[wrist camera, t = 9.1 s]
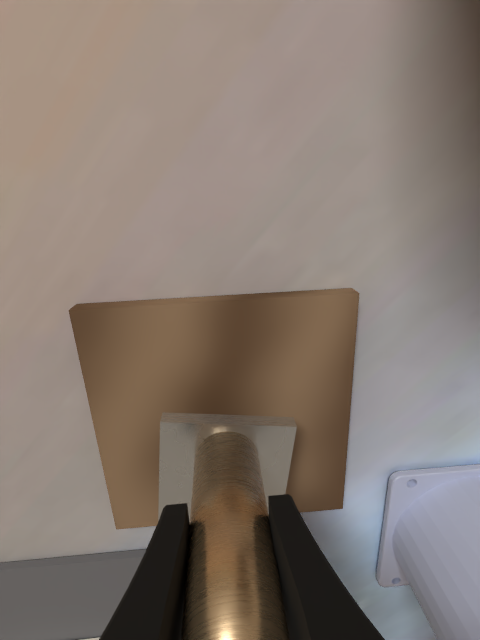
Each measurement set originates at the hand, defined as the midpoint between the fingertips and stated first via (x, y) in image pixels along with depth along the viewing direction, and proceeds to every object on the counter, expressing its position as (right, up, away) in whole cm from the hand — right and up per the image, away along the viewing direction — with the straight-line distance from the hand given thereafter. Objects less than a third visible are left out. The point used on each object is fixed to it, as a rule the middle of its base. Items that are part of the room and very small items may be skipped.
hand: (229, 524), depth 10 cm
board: (0, +2, +5) cm, 6 cm away
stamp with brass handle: (0, 0, +4) cm, 4 cm away
